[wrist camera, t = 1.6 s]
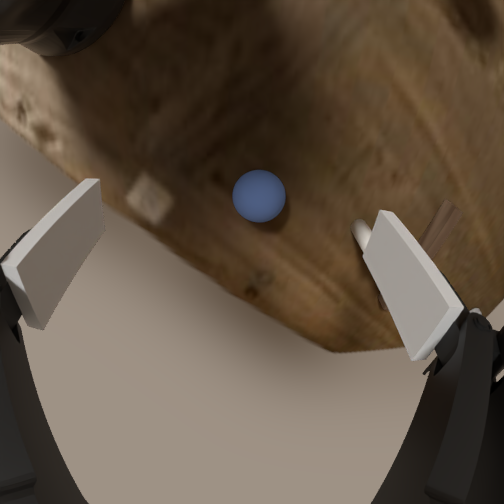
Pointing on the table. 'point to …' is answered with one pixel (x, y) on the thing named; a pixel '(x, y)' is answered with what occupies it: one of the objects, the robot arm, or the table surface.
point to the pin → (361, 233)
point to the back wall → (436, 232)
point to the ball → (259, 196)
